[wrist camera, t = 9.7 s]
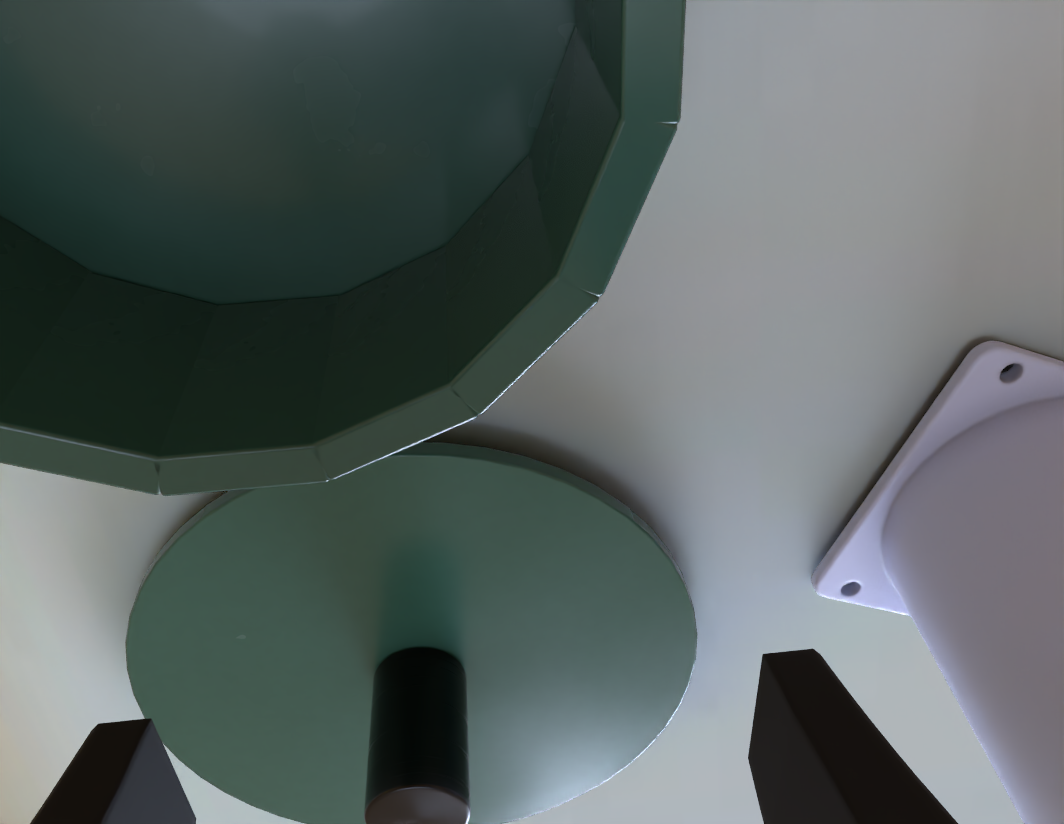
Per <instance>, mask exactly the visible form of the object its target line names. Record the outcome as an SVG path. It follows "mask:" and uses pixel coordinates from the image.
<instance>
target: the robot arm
mask: <svg viewBox="0 0 1064 824" xmlns="http://www.w3.org/2000/svg"><path fill="white" fill-rule="evenodd" d="M1013 363H1014V364H1013ZM1010 364H1013V366H1012V368H1010V369H1009V370H1008V371H1007V372H1004V373H1002V374H1000V373H1001V371H1002V370H1003V369H1004V368H1005V367H1006V366H1008V365H1010ZM811 581H812V584H813V587H814V589H815V591H816V592H817V593H818V595H820V596H823V597H826V598H830V599H835V600H839V601H844V602H849V603H853V604H858V605H862V606H867V607H872V608H876V609H881V610H886V611H890V612H895V613H899V614H904V615H909V616H911V617H912V619H913V621H914V623H915V624H916V626H917V628H918V630H919V632H920V634H921V635H922V637H923V639H924V641H925V643H926V645H927V646H928V648H929V650H930V652H931V654H932V656H933V657H934V659H935V661H936V663H937V665H938V667H939V668H940V670H941V672H942V674H943V676H944V678H945V680H946V681H947V683H948V685H949V687H950V689H951V691H952V692H953V694H954V696H955V698H956V700H957V702H958V703H959V705H960V707H961V709H962V711H963V713H964V714H965V716H966V718H967V720H968V722H969V724H970V725H971V727H972V729H973V731H974V733H975V735H976V736H977V738H978V740H979V742H980V744H981V746H982V747H983V749H984V751H985V753H986V755H987V757H988V759H989V760H990V762H991V764H992V766H993V768H994V770H995V771H996V773H997V775H998V777H999V779H1000V781H1001V782H1002V784H1003V786H1004V788H1005V790H1006V792H1007V793H1008V795H1009V797H1010V799H1011V801H1012V803H1013V804H1014V806H1015V808H1016V810H1017V812H1018V814H1019V815H1020V817H1021V819H1022V821H1023V823H1024V824H1064V362H1063V361H1060V360H1057V359H1054V358H1051V357H1047V356H1044V355H1041V354H1038V353H1035V352H1032V351H1028V350H1025V349H1022V348H1019V347H1016V346H1013V345H1009V344H1006V343H1003V342H1000V341H992V340H991V341H987V342H983V343H981V344H979V345H977V346H976V347H974V348H973V349H972V350H971V351H970V352H969V353H968V354H967V356H966V357H965V359H964V360H963V361H962V363H961V364H960V366H959V367H958V368H957V370H956V371H955V373H954V374H953V376H952V377H951V378H950V380H949V381H948V383H947V384H946V385H945V387H944V388H943V390H942V391H941V392H940V394H939V395H938V397H937V398H936V400H935V401H934V402H933V404H932V405H931V407H930V408H929V409H928V411H927V412H926V414H925V415H924V417H923V418H922V419H921V421H920V422H919V424H918V425H917V426H916V428H915V429H914V431H913V432H912V434H911V435H910V436H909V438H908V439H907V441H906V442H905V443H904V445H903V446H902V448H901V449H900V451H899V452H898V453H897V455H896V456H895V458H894V459H893V460H892V462H891V463H890V465H889V466H888V467H887V469H886V470H885V472H884V473H883V475H882V476H881V477H880V479H879V480H878V482H877V483H876V484H875V486H874V487H873V489H872V490H871V492H870V493H869V494H868V496H867V497H866V499H865V500H864V501H863V503H862V504H861V506H860V507H859V509H858V510H857V511H856V513H855V514H854V516H853V517H852V518H851V520H850V521H849V523H848V524H847V526H846V527H845V528H844V530H843V531H842V533H841V534H840V535H839V537H838V538H837V540H836V541H835V543H834V544H833V545H832V547H831V548H830V550H829V551H828V552H827V554H826V555H825V557H824V558H823V559H822V561H821V562H820V564H819V565H818V567H817V568H816V569H815V571H814V572H813V575H812V577H811ZM849 582H851V583H850V584H847V585H845V584H846V583H849ZM748 759H749V764H750V768H751V772H752V776H753V780H754V785H755V789H756V793H757V797H758V802H759V806H760V810H761V814H762V817H763V821H764V824H958V823H957V822H956V821H955V819H954V818H953V817H952V816H951V815H950V814H949V813H948V811H947V810H946V809H945V808H944V807H943V806H942V805H941V803H940V802H939V801H938V800H937V799H936V798H935V797H934V795H933V794H932V793H931V792H930V791H929V790H928V789H927V787H926V786H925V785H924V784H923V783H922V782H921V781H920V779H919V778H918V777H917V776H916V775H915V774H914V773H913V771H912V770H911V769H910V768H909V767H908V765H907V764H906V763H905V762H904V761H903V759H902V758H901V757H900V756H899V755H898V753H897V752H896V751H895V750H894V749H893V747H892V746H891V745H890V744H889V742H888V741H887V740H886V739H885V737H884V736H883V735H882V734H881V733H880V731H879V730H878V729H877V728H876V726H875V725H874V724H873V723H872V721H871V720H870V719H869V718H868V716H867V715H866V714H865V713H864V711H863V710H862V709H861V707H860V706H859V705H858V704H857V702H856V701H855V700H854V698H853V697H852V696H851V695H850V693H849V692H848V691H847V689H846V688H845V687H844V685H843V684H842V683H841V681H840V680H839V679H838V677H837V676H836V675H835V673H834V672H833V671H832V669H831V668H830V667H829V665H828V664H827V663H826V661H825V660H824V659H823V657H822V656H821V655H820V654H819V653H818V652H816V651H815V650H814V649H807V650H797V651H788V652H778V653H769V654H763V656H762V663H761V670H760V678H759V685H758V692H757V699H756V706H755V713H754V720H753V727H752V734H751V741H750V748H749V755H748ZM30 824H196V817H195V815H194V813H193V811H192V808H191V806H190V804H189V802H188V799H187V797H186V795H185V793H184V790H183V788H182V786H181V784H180V781H179V779H178V777H177V775H176V772H175V770H174V768H173V766H172V763H171V761H170V759H169V757H168V754H167V752H166V750H165V748H164V746H163V743H162V741H161V739H160V737H159V734H158V732H157V730H156V728H155V725H154V723H153V721H152V719H151V718H149V719H140V720H130V721H121V722H111V723H102V724H98V725H97V726H96V727H95V728H94V729H93V730H92V731H91V732H90V734H89V735H88V737H87V738H86V740H85V741H84V743H83V745H82V746H81V748H80V749H79V751H78V752H77V754H76V755H75V757H74V758H73V760H72V761H71V763H70V764H69V766H68V767H67V769H66V770H65V772H64V774H63V775H62V777H61V778H60V780H59V781H58V783H57V784H56V786H55V787H54V789H53V790H52V792H51V793H50V795H49V796H48V798H47V799H46V801H45V802H44V804H43V805H42V807H41V808H40V810H39V811H38V813H37V814H36V816H35V817H34V819H33V820H32V822H31V823H30Z"/></svg>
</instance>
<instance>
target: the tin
mask: <svg viewBox="0 0 1064 824" xmlns="http://www.w3.org/2000/svg"><path fill="white" fill-rule="evenodd" d="M685 12H686V0H0V463H4V464H8V465H13V466H18V467H23V468H28V469H33V470H38V471H42V472H47V473H52V474H57V475H62V476H67V477H72V478H76V479H81V480H86V481H91V482H96V483H101V484H106V485H110V486H115V487H120V488H125V489H130V490H135V491H140V492H144V493H149V494H154V495H158V494H160V493H161V494H162V495H164V496H171V495H183V494H194V493H206V492H218V491H230V490H241V489H253V488H265V487H277V486H288V485H300V484H312V483H324V482H328V481H329V480H330V479H331V480H335V479H337V478H340V477H342V476H344V475H347V474H349V473H351V472H353V471H356V470H358V469H360V468H363V467H365V466H367V465H370V464H372V463H374V462H377V461H379V460H381V459H383V458H386V457H388V456H390V455H393V454H395V453H397V452H400V451H402V450H404V449H406V448H409V447H411V446H413V445H416V444H418V443H420V442H423V441H425V440H427V439H430V438H432V437H434V436H436V435H439V434H441V433H443V432H446V431H448V430H450V429H453V428H455V427H457V426H459V425H462V424H464V423H466V422H469V421H471V420H473V419H475V418H476V417H478V414H483V413H484V412H485V411H486V410H487V409H488V408H489V407H490V406H491V405H492V404H493V403H494V402H495V401H496V400H497V399H499V398H500V397H501V396H502V395H503V394H504V393H505V392H506V391H507V390H508V389H509V388H510V387H511V386H512V385H513V384H514V383H515V382H516V381H517V380H518V379H519V378H520V377H521V376H522V375H523V374H524V373H525V372H526V371H527V370H528V369H529V368H530V367H531V366H532V365H534V364H535V363H536V362H537V361H538V360H539V359H540V358H541V357H542V356H543V355H544V354H545V353H546V352H547V351H548V350H549V349H550V348H551V347H552V346H553V345H554V344H555V343H556V342H557V341H558V340H559V339H560V338H561V337H562V336H563V335H564V334H565V333H566V332H568V331H569V330H570V329H571V328H572V327H573V326H574V325H575V324H576V323H577V322H578V321H579V320H580V319H581V318H582V317H583V316H584V315H585V314H586V313H587V312H588V311H589V310H590V309H591V308H592V307H593V306H594V305H595V304H596V303H597V302H598V300H599V296H602V295H603V293H604V292H605V289H606V287H607V285H608V283H609V281H610V278H611V276H612V274H613V272H614V269H615V267H616V265H617V263H618V260H619V258H620V256H621V254H622V251H623V249H624V247H625V245H626V242H627V240H628V238H629V236H630V234H631V231H632V229H633V227H634V225H635V222H636V220H637V218H638V216H639V213H640V211H641V209H642V207H643V204H644V202H645V200H646V198H647V195H648V193H649V191H650V189H651V187H652V184H653V182H654V180H655V178H656V175H657V173H658V171H659V169H660V166H661V164H662V162H663V160H664V157H665V155H666V153H667V151H668V148H669V146H670V144H671V142H672V139H673V137H674V135H675V133H676V131H677V123H678V122H679V120H680V118H681V98H682V76H683V55H684V33H685Z"/></svg>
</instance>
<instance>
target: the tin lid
mask: <svg viewBox="0 0 1064 824" xmlns="http://www.w3.org/2000/svg"><path fill="white" fill-rule="evenodd" d="M696 647H697V629H696V621H695V614H694V608H693V605H692V601H691V598H690V595H689V592H688V589H687V586H686V583H685V580H684V577H683V574H682V572H681V571H680V569H679V567H678V565H677V564H676V562H675V560H674V558H673V556H672V555H671V553H670V551H669V549H668V548H667V547H666V546H665V545H664V543H663V542H662V541H661V540H660V538H659V537H658V536H657V535H656V533H655V532H654V531H653V530H652V529H651V527H650V526H649V525H648V524H646V523H645V522H644V521H643V520H642V519H641V518H640V517H639V516H637V515H636V514H635V513H634V512H633V511H632V510H631V509H630V508H628V507H627V506H626V505H625V504H624V503H622V502H621V501H619V500H618V499H616V498H615V497H613V496H611V495H610V494H608V493H607V492H605V491H604V490H602V489H601V488H599V487H598V486H596V485H594V484H592V483H590V482H588V481H586V480H584V479H582V478H580V477H578V476H576V475H574V474H572V473H570V472H568V471H566V470H564V469H561V468H558V467H555V466H552V465H549V464H547V463H544V462H541V461H538V460H535V459H532V458H529V457H526V456H522V455H518V454H513V453H509V452H504V451H500V450H495V449H491V448H486V447H479V446H470V445H461V444H452V443H443V442H420V443H418V444H416V445H413V446H411V447H409V448H406V449H404V450H402V451H400V452H397V453H395V454H393V455H390V456H388V457H386V458H383V459H381V460H379V461H377V462H374V463H372V464H370V465H367V466H365V467H363V468H360V469H358V470H356V471H353V472H351V473H349V474H347V475H344V476H342V477H340V478H337V479H335V480H331V479H330V480H329V481H328V482H324V483H312V484H300V485H288V486H277V487H265V488H253V489H241V490H230V491H228V492H227V493H225V494H223V495H222V496H220V497H219V498H217V499H215V500H214V501H212V502H211V503H209V504H207V505H206V506H205V507H204V508H203V509H201V510H200V511H199V512H198V513H197V514H196V515H194V516H193V517H192V518H191V519H190V520H188V521H187V522H186V523H185V524H184V525H183V526H181V527H180V528H179V529H178V531H177V532H176V533H175V534H174V535H173V536H172V537H171V539H170V540H169V541H168V542H167V543H166V544H165V546H164V547H163V548H162V549H161V550H160V551H159V553H158V554H157V556H156V558H155V559H154V561H153V563H152V564H151V566H150V568H149V569H148V571H147V573H146V574H145V576H144V578H143V580H142V583H141V586H140V588H139V591H138V594H137V596H136V599H135V602H134V605H133V607H132V610H131V613H130V616H129V623H128V629H127V636H126V661H127V671H128V675H129V678H130V682H131V686H132V690H133V694H134V696H135V698H136V701H137V703H138V705H139V707H140V709H141V711H142V713H143V715H144V718H145V719H149V718H151V719H152V721H153V723H154V725H155V728H156V730H157V732H158V734H159V737H160V739H161V741H162V743H163V744H164V745H165V746H166V747H167V748H168V749H169V750H170V751H171V752H172V753H173V754H174V755H175V756H176V757H177V758H178V759H179V760H180V761H181V762H182V763H184V764H185V765H186V766H187V767H188V768H190V769H191V770H192V771H193V772H195V773H196V774H197V775H198V776H200V777H201V778H203V779H204V780H206V781H207V782H209V783H210V784H212V785H214V786H215V787H217V788H218V789H220V790H222V791H223V792H225V793H227V794H229V795H231V796H233V797H235V798H237V799H239V800H241V801H243V802H245V803H247V804H249V805H251V806H254V807H256V808H259V809H262V810H264V811H267V812H269V813H272V814H275V815H277V816H280V817H284V818H287V819H291V820H294V821H298V822H301V823H305V824H504V823H508V822H511V821H515V820H519V819H523V818H526V817H529V816H532V815H535V814H538V813H540V812H543V811H546V810H549V809H552V808H554V807H557V806H559V805H561V804H563V803H566V802H568V801H570V800H572V799H574V798H576V797H579V796H581V795H583V794H584V793H586V792H588V791H590V790H591V789H593V788H595V787H597V786H598V785H600V784H602V783H604V782H605V781H607V780H608V779H610V778H611V777H613V776H614V775H615V774H617V773H618V772H620V771H621V770H622V769H624V768H625V767H627V766H628V765H629V764H630V763H632V762H633V761H634V760H635V759H636V758H637V757H638V756H639V755H640V754H642V753H643V752H644V751H645V750H646V749H647V748H648V747H649V746H650V745H651V744H652V743H653V742H654V740H655V739H656V738H657V737H658V736H659V735H660V733H661V732H662V731H663V730H664V729H665V728H666V726H667V725H668V723H669V722H670V720H671V719H672V717H673V715H674V714H675V712H676V711H677V709H678V708H679V706H680V704H681V702H682V699H683V697H684V695H685V693H686V690H687V688H688V686H689V684H690V680H691V676H692V672H693V668H694V664H695V660H696Z"/></svg>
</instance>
